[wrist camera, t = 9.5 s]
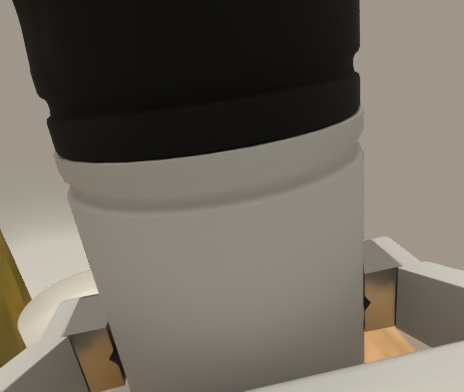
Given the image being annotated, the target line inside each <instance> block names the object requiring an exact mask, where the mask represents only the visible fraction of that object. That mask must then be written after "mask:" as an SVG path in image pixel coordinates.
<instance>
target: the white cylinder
mask: <svg viewBox="0 0 464 392" xmlns="http://www.w3.org/2000/svg"><path fill="white" fill-rule="evenodd" d="M94 294H99V293H98V290H97V287H96V284H95V281H94V277H93V274H92V271H91V270H88V271H84V272H81V273H78V274H75V275H72V276H70V277H67V278H65V279H63V280H61V281H59V282H57V283H55V284H53V285H52V286H50V287H48V288H47V289H45V290H44V291H42V292H41V293H39V294H38V295H37V296H36V297H35V298H33V299H32V300H31V301H30V302H29V303H28V304H27V306H26V307H25V308H24V309H23V311H22V313H21V314H20V316H19V319H18V324H17V325H18V330H19V332H20V334H21V337H22V339H23V341H24V343H25V345H26V348H27V347H29V346H30V345H31V344H33V343H37V342H39V341H40V339H41V337H42V335H43V334H44V332H45V330H46V328H47V326H48V324H49V322H50V321H51V319H52V317H53V315H54V313H55V311H56V309H57V307H58V306H59V304H60V302H62V301H64V300H68V299H72V298H77V297H83V296H89V295H94ZM101 392H131V391H130V388H129V385H128V382H127V379H126V382H125V386H121V387H117V388H113V389H109V390H105V391H101Z"/></svg>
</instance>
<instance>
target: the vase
mask: <svg viewBox="0 0 464 392" xmlns="http://www.w3.org/2000/svg"><path fill="white" fill-rule="evenodd" d="M31 300H32V299H31V297H30V295H29V292H28V290H27V288H26V286H25V283H24V281H23V279H22V276H21V274H20V272H19V270H18V268H17V265H16V263H15V260H14V258H13V256H12V254H11V252H10V249H9V247H8V245H7V243H6V241H5V239H4V237H3V235H2V233H1V230H0V368H1V367H3V366H4V365H5V364H6V363H8V362H9V361H10V360H12V359H13V358H14V357H16V356H17V355H18V354H20V353H21V352H22V351H23V350H25V349H26V345H25V343H24V341H23V339H22V337H21V334H20V332H19V330H18V325H17V324H18V319H19V316H20V314H21V313H22V311H23V309H24V308H25V307H26V306H27V304H28V303H29V302H30V301H31Z"/></svg>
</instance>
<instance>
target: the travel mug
mask: <svg viewBox="0 0 464 392" xmlns="http://www.w3.org/2000/svg"><path fill="white" fill-rule="evenodd" d="M12 1H13V4H14V6H15V9H16V12H17V15H18V18H19V22H20V25H21V29H22V34H23V38H24V42H25V47H26V51H27V55H28V60H29V65H30V72H31V76H32V79H33V82H34V85H35V88H36V91H37V94H38V95H39V97H40V98H42V99H44V100H45V101H46V102H47V103H48V106H49V109H50V117H49V118H48V119H47V125H48V128H49V132H50V135H51V138H52V141H53V144H54V147H55V150H56V152H55V153H54V154H53V155H54V158H55V161H56V164H57V167H58V170H59V173H60V175H61V176H62V178H63V180H64V181H65V182H66V183H68V184H70V188H69V191H68V195H67V198H68V201H69V204H70V207H71V210H72V213H73V216H74V219H75V222H76V225H77V228H78V232H79V235H80V237H81V241H82V244H83V247H84V250H85V253H86V256H87V259H88V262H89V265H90V268H91V271H92V274H93V277H94V281H95V284H96V287H97V290H98V293H99V296H100V299H101V302H102V305H103V308H104V311H105V314H106V317H107V320H108V323H109V326H110V330H111V333H112V336H113V339H114V342H115V345H116V348H117V351H118V354H119V357H120V360H121V363H122V366H123V369H124V372H125V375H126V379H127V382H128V385H129V388H130V391H131V392H244V391H248V390H253V389H257V388H261V387H265V386H270V385H274V384H278V383H283V382H287V381H291V380H296V379H300V378H304V377H308V376H313V375H317V374H321V373H326V372H330V371H334V370H338V369H343V368H347V367H351V366H356V365H360V364H364V162H363V161H364V153H363V150H362V148H361V146H360V144H359V142H357V140H358V139H359V137H360V135H361V133H362V131H363V108H362V106H361V105H360V76H359V73H357V72H355V71H354V67H353V58H354V55H355V53H356V52H357V51H358V50H359V47H360V17H359V16H360V14H359V13H360V10H359V0H12Z"/></svg>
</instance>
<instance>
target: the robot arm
mask: <svg viewBox="0 0 464 392" xmlns="http://www.w3.org/2000/svg"><path fill="white" fill-rule="evenodd" d="M393 326H396V328H398V329H399V330H401V331H403V332H405V333H407V334H408V335H410V336H412V337H414V338H416V339H417V340H419V341H421V342H423V343H425V344H426V345H428V346H430V347H432V348H429V349H425V350H420V351H416V352H412V353H407V354H403V355H399V356H394V357H390V358H386V359H382V360H377V361H373V362H369V363H364V364H360V365H356V366H351V367H347V368H343V369H338V370H334V371H330V372H326V373H321V374H317V375H313V376H308V377H304V378H300V379H296V380H291V381H287V382H283V383H278V384H274V385H270V386H265V387H261V388H257V389H253V390H248V391H244V392H464V271H461V270H458V269H454V268H450V267H446V266H443V265H439V264H435V263H431V262H420V261H419V260H418V259H416V258H415V257H414V256H413V255H411V254H410V253H408V252H407V251H406V250H405V249H403V248H402V247H401V246H399V245H398V244H397V243H395V242H394V241H393V240H392V239H390V238H389V237H385V236H383V237H379V238H375V239H371V240H367V241H364V331H365V332H367V331H372V330H377V329H382V328H388V327H393ZM125 382H126V375H125V372H124V369H123V366H122V363H121V360H120V357H119V354H118V351H117V348H116V345H115V342H114V339H113V336H112V333H111V330H110V326H109V323H108V320H107V317H106V314H105V311H104V308H103V305H102V302H101V299H100V296H99V294H94V295H89V296H83V297H77V298H72V299H68V300H64V301H62V302H60V304H59V306H58V307H57V309H56V311H55V313H54V315H53V317H52V319H51V321H50V322H49V324H48V326H47V328H46V330H45V332H44V334H43V335H42V337H41V339H40V341H39V342H37V343H33V344H31V345H30V346H29V347H27V348H26V349H25V350H23V351H22V352H21V353H20V354H18V355H17V356H16V357H14V358H13V359H12V360H10V361H9V362H8V363H6V364H5V365H4V366H3V367H1V368H0V392H101V391H105V390H109V389H113V388H117V387H121V386H125Z"/></svg>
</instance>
